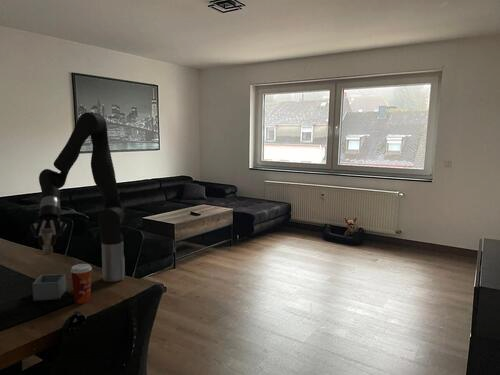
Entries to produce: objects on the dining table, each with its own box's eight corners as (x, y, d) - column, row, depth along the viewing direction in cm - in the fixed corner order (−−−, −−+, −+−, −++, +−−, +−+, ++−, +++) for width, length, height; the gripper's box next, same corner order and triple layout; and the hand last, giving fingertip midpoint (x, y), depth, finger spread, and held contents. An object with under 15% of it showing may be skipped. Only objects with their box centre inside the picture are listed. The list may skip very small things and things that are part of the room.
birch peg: (54, 252, 149) (53, 228, 148) (51, 254, 146) (50, 230, 144) (44, 252, 148) (43, 228, 147) (41, 255, 145) (40, 230, 144)
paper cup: (84, 305, 141) (83, 270, 139) (67, 303, 142) (65, 268, 140) (97, 297, 148) (96, 263, 146) (80, 295, 150) (79, 262, 148)
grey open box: (66, 289, 155) (65, 273, 154) (59, 299, 146) (58, 282, 145) (42, 290, 153) (41, 274, 152) (33, 300, 144) (32, 283, 143)
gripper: (29, 205, 149) (24, 242, 139) (67, 203, 154) (65, 239, 144) (32, 215, 155) (28, 251, 145) (69, 213, 160) (67, 248, 150)
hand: (46, 245), depth 145 cm, fingers closed on birch peg, 3 cm apart
